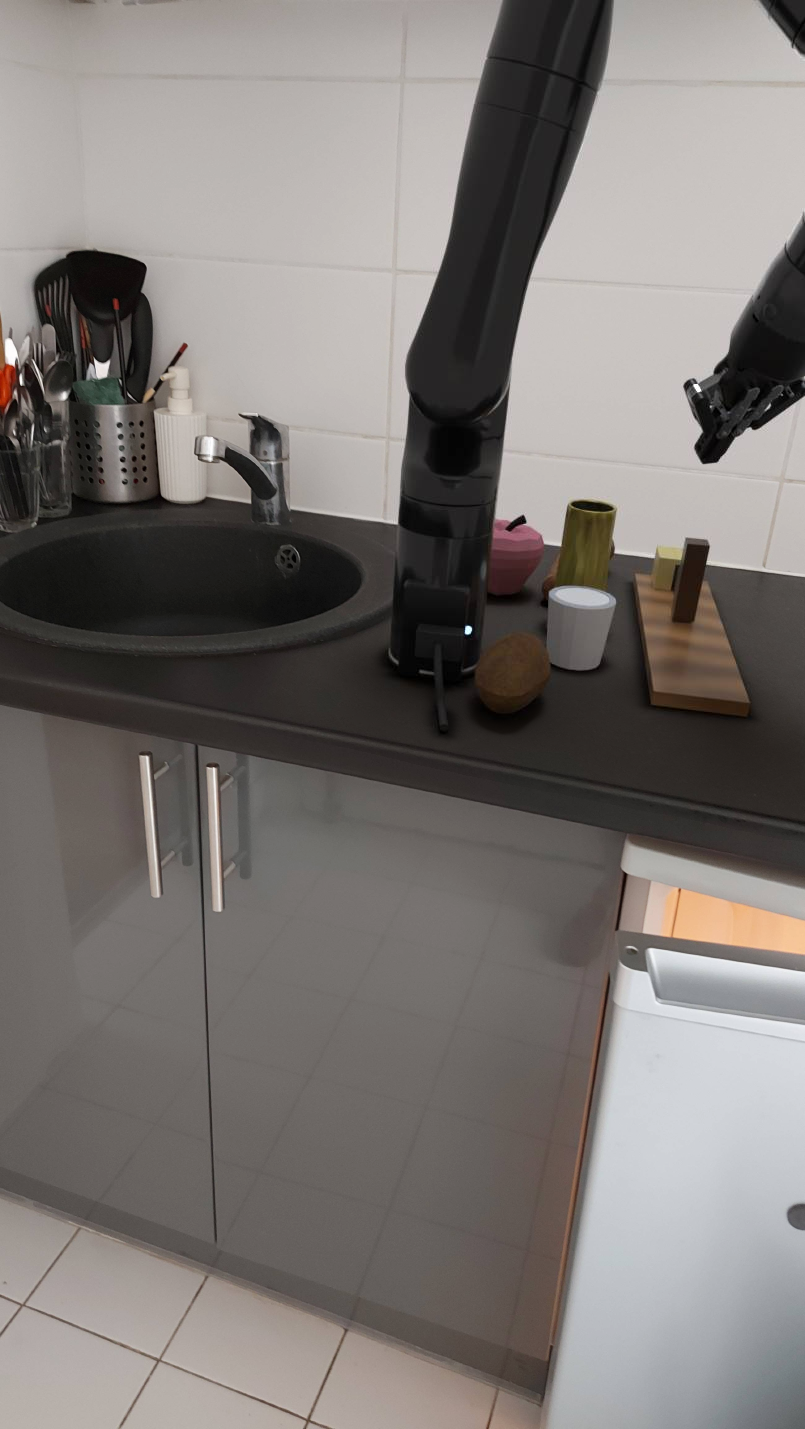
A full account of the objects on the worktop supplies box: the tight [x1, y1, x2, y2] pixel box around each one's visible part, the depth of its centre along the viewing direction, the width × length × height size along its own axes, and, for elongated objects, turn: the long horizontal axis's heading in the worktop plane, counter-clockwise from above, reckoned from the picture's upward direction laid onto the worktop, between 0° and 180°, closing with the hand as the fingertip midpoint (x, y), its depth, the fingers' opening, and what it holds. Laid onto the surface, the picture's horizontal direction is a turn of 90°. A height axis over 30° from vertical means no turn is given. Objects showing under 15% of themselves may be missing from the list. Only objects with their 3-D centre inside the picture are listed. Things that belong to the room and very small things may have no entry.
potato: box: [474, 630, 552, 715], centre depth 93 cm, size 7×12×7 cm, turn 164°
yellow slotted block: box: [650, 545, 684, 591], centre depth 124 cm, size 5×5×4 cm
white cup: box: [546, 586, 617, 671], centre depth 104 cm, size 7×7×7 cm
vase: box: [546, 498, 618, 629], centre depth 109 cm, size 6×6×14 cm
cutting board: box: [632, 572, 751, 718], centre depth 112 cm, size 36×9×2 cm, turn 171°
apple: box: [487, 514, 545, 597], centre depth 120 cm, size 10×9×10 cm
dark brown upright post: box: [671, 536, 711, 622], centre depth 119 cm, size 18×2×9 cm, turn 171°
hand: (704, 457), depth 98 cm, fingers closed
